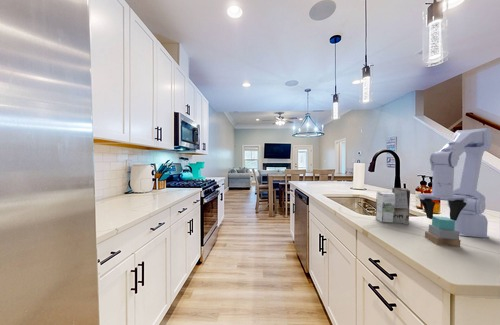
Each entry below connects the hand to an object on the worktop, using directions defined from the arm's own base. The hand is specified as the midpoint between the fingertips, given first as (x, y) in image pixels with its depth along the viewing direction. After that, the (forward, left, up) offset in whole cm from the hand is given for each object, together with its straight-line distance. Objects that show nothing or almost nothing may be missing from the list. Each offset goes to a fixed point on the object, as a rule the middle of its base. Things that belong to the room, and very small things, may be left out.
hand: (441, 219), depth 76 cm
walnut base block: (0, 0, -9) cm, 9 cm away
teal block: (0, 0, -3) cm, 3 cm away
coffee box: (+3, -24, -9) cm, 26 cm away
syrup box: (+10, -22, -9) cm, 26 cm away
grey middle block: (0, +1, -6) cm, 6 cm away
